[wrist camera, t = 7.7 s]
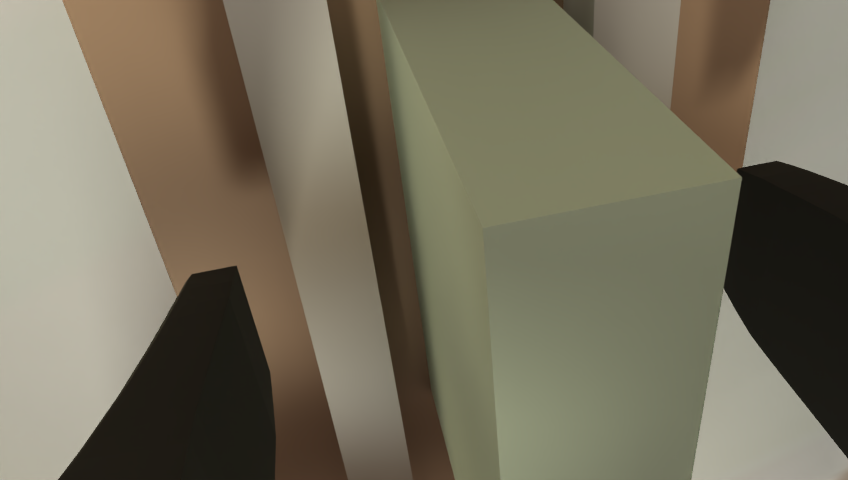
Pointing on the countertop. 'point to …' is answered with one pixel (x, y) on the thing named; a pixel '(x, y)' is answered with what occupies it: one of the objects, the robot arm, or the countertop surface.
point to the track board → (342, 185)
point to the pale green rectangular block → (554, 244)
